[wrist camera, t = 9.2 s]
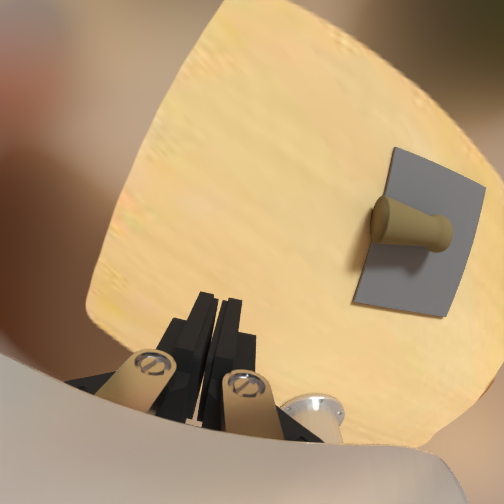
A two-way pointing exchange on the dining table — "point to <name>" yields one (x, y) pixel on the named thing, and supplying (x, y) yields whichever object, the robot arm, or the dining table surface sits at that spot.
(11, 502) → the robot arm
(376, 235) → the cork
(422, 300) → the mat
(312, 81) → the dining table surface
